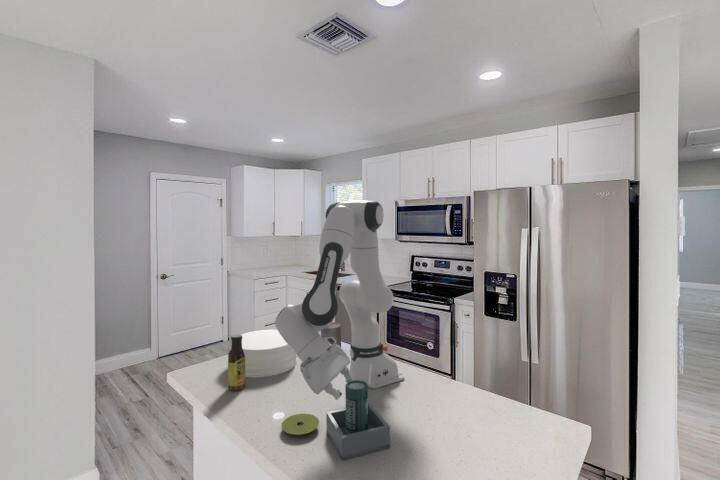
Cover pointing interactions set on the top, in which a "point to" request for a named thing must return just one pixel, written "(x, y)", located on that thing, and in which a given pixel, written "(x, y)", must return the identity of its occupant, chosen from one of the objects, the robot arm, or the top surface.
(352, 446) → the bin
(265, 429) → the top surface
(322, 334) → the pillar candle
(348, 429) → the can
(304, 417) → the mat
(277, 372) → the plate stack
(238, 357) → the sauce bottle
